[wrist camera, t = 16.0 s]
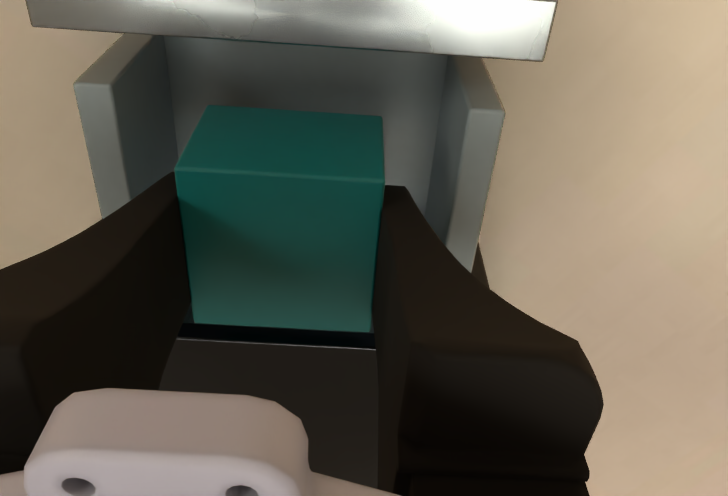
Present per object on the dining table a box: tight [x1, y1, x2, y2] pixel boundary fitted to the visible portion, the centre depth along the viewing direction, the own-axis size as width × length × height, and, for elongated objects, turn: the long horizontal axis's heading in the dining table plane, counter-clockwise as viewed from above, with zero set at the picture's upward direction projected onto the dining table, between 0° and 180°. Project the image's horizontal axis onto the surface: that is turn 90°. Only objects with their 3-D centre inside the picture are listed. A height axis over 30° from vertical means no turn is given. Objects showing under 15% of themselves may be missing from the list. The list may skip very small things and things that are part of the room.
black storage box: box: [158, 243, 490, 489], centre depth 22 cm, size 13×11×7 cm
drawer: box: [25, 0, 558, 333], centre depth 16 cm, size 17×10×5 cm, turn 176°
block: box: [174, 105, 385, 332], centre depth 14 cm, size 4×4×3 cm
